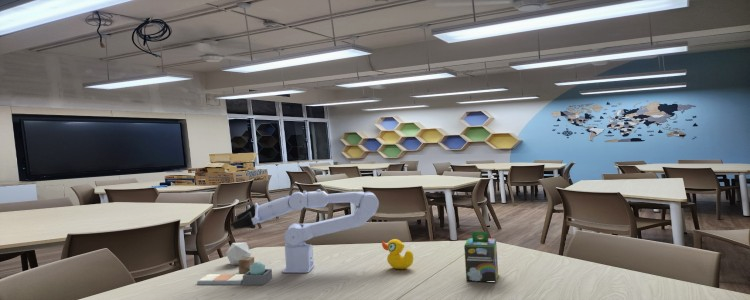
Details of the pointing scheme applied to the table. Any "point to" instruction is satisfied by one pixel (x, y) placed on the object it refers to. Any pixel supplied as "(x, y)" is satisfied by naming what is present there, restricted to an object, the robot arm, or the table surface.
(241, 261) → the brown wooden block
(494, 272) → the chalk box
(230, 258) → the die
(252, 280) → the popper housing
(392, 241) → the duckling
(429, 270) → the table surface
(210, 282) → the game board
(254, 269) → the dome
